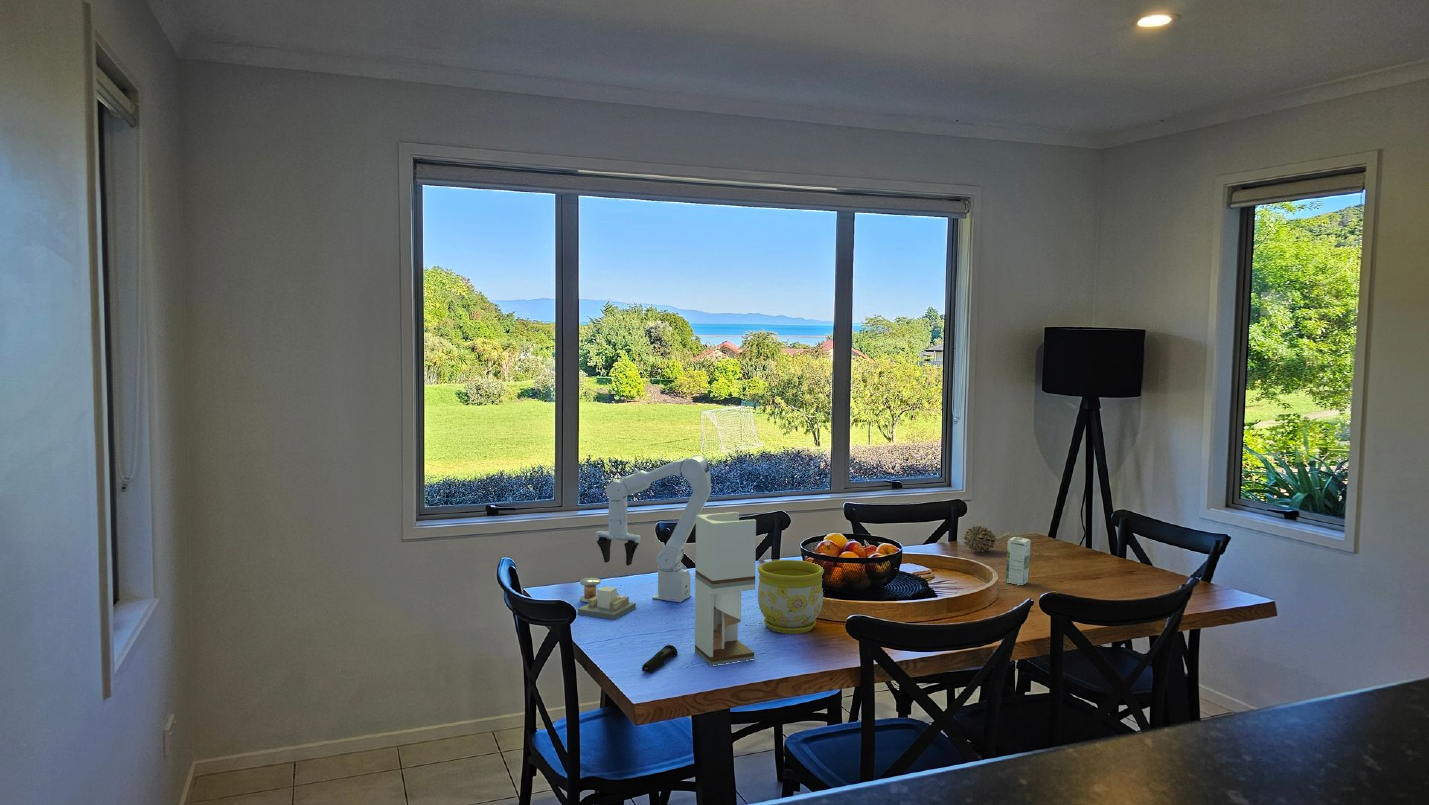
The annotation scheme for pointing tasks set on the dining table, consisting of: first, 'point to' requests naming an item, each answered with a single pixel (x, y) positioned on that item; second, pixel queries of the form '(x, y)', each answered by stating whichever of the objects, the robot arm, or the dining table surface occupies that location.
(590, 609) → the notched board
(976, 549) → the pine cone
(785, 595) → the flowerpot
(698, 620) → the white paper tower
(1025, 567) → the syrup box
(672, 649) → the electric trimmer
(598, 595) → the block
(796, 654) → the dining table surface
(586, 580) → the bobbin spool
